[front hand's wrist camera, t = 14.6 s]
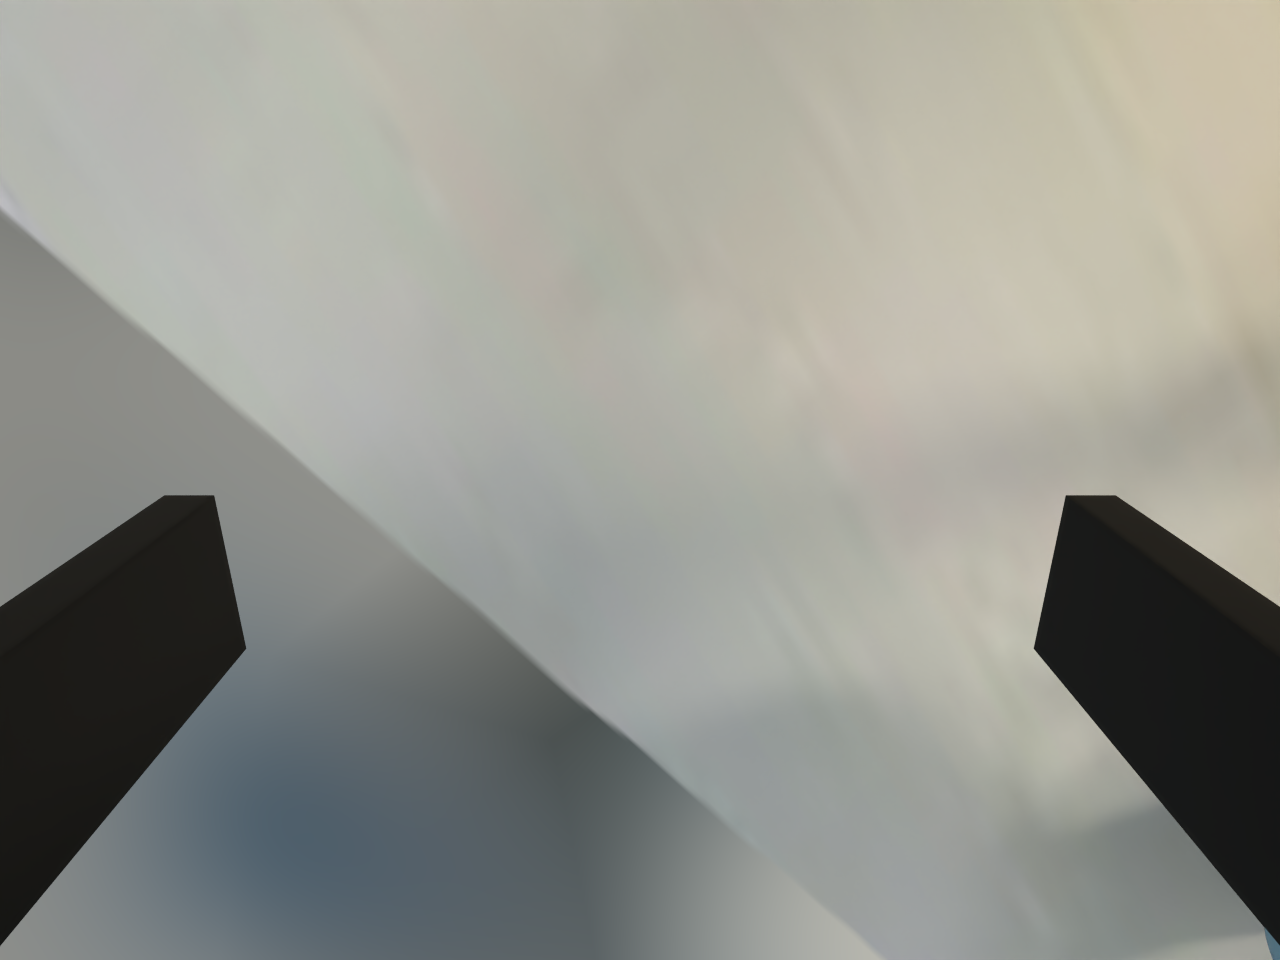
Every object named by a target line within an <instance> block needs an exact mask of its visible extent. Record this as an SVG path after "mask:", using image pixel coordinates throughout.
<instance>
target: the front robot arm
mask: <svg viewBox="0 0 1280 960" xmlns="http://www.w3.org/2000/svg"><path fill="white" fill-rule="evenodd" d="M245 649H246V646H245V641H244V636H243V631H242V626H241V622H240V617H239V612H238V607H237V602H236V598H235V593H234V588H233V583H232V579H231V574H230V569H229V564H228V560H227V555H226V550H225V545H224V541H223V536H222V531H221V526H220V521H219V517H218V512H217V507H216V502H215V497H214V496H213V495H211V496H210V495H209V496H207V495H205V496H204V495H202V496H199V495H197V496H194V495H192V496H191V495H190V496H187V495H186V496H183V495H182V496H181V495H173V496H172V495H171V496H170V495H168V496H167V495H165V496H163V497H161V498H160V499H158V500H157V501H156V502H154V503H153V504H151V505H150V506H148V507H147V508H145V509H144V510H142V511H141V512H139V513H138V514H136V515H135V516H133V517H132V518H130V519H129V520H128V521H126V522H125V523H123V524H122V525H120V526H119V527H117V528H116V529H114V530H113V531H111V532H110V533H108V534H107V535H105V536H104V537H102V538H101V539H100V540H98V541H97V542H95V543H94V544H92V545H91V546H89V547H88V548H86V549H85V550H83V551H82V552H80V553H79V554H77V555H76V556H75V557H73V558H72V559H70V560H69V561H67V562H66V563H64V564H63V565H61V566H60V567H58V568H57V569H55V570H54V571H52V572H51V573H49V574H48V575H46V576H45V577H44V578H42V579H41V580H39V581H38V582H36V583H35V584H33V585H32V586H30V587H29V588H27V589H26V590H24V591H23V592H21V593H20V594H19V595H17V596H15V597H14V598H13V599H11V600H10V601H8V602H7V603H5V604H4V605H2V606H1V607H0V945H1V944H2V943H3V942H4V941H5V939H6V938H7V937H8V936H9V934H10V933H11V932H12V931H13V930H14V928H15V927H16V926H17V925H18V924H19V922H20V921H21V920H22V919H23V918H24V916H25V915H26V914H27V913H28V912H29V910H30V909H31V908H32V907H33V905H34V904H35V903H36V902H37V901H38V900H39V898H40V897H41V896H42V895H43V893H44V892H45V891H46V890H47V889H48V887H49V886H50V885H51V884H52V883H53V881H54V880H55V879H56V878H57V876H58V875H59V874H60V873H61V872H62V871H63V869H64V868H65V867H66V866H67V864H68V863H69V862H70V861H71V860H72V858H73V857H74V856H75V855H76V854H77V852H78V851H79V850H80V849H81V848H82V846H83V845H84V844H85V843H86V842H87V840H88V839H89V838H90V837H91V835H92V834H93V833H94V832H95V831H96V829H97V828H98V827H99V826H100V825H101V823H102V822H103V821H104V820H105V819H106V817H107V816H108V815H109V814H110V813H111V811H112V810H113V809H114V808H115V806H116V805H117V804H118V803H119V802H120V800H121V799H122V798H123V797H124V796H125V794H126V793H127V792H128V791H129V790H130V788H131V787H132V786H133V785H134V783H135V782H136V781H137V780H138V779H139V777H140V776H141V775H142V774H143V773H144V771H145V770H146V769H147V768H148V767H149V765H150V764H151V763H152V762H153V760H154V759H155V758H156V757H157V756H158V755H159V753H160V752H161V751H162V750H163V748H164V747H165V746H166V745H167V744H168V742H169V741H170V740H171V739H172V738H173V736H174V735H175V734H176V733H177V732H178V730H179V729H180V728H181V727H182V726H183V724H184V723H185V722H186V721H187V719H188V718H189V717H190V716H191V715H192V713H193V712H194V711H195V710H196V709H197V707H198V706H199V705H200V704H201V703H202V701H203V700H204V699H205V698H206V696H207V695H208V694H209V693H210V692H211V691H212V689H213V688H214V687H215V686H216V684H217V683H218V682H219V681H220V680H221V678H222V677H223V676H224V675H225V674H226V672H227V671H228V670H229V669H230V667H231V666H232V665H233V664H234V663H235V662H236V660H237V659H238V658H239V657H240V655H241V654H242V653H243V652H244V651H245ZM1034 649H1035V651H1036V652H1037V653H1038V654H1039V655H1040V657H1041V658H1042V659H1043V660H1044V662H1045V663H1046V664H1047V665H1048V666H1049V668H1050V669H1051V670H1052V671H1053V672H1054V674H1055V675H1056V676H1057V677H1058V678H1059V680H1060V681H1061V682H1062V683H1063V684H1064V686H1065V687H1066V688H1067V689H1068V691H1069V692H1070V693H1071V694H1072V695H1073V697H1074V698H1075V699H1076V700H1077V701H1078V703H1079V704H1080V705H1081V706H1082V707H1083V709H1084V710H1085V711H1086V712H1087V713H1088V715H1089V716H1090V717H1091V718H1092V720H1093V721H1094V722H1095V723H1096V724H1097V726H1098V727H1099V728H1100V729H1101V730H1102V732H1103V733H1104V734H1105V735H1106V736H1107V738H1108V739H1109V740H1110V741H1111V742H1112V744H1113V745H1114V746H1115V747H1116V748H1117V750H1118V751H1119V752H1120V753H1121V755H1122V756H1123V757H1124V758H1125V759H1126V761H1127V762H1128V763H1129V764H1130V765H1131V767H1132V768H1133V769H1134V770H1135V771H1136V773H1137V774H1138V775H1139V776H1140V777H1141V779H1142V780H1143V781H1144V782H1145V784H1146V785H1147V786H1148V787H1149V788H1150V790H1151V791H1152V792H1153V793H1154V794H1155V796H1156V797H1157V798H1158V799H1159V800H1160V802H1161V803H1162V804H1163V805H1164V806H1165V808H1166V809H1167V810H1168V811H1169V813H1170V814H1171V815H1172V816H1173V817H1174V819H1175V820H1176V821H1177V822H1178V823H1179V825H1180V826H1181V827H1182V828H1183V829H1184V831H1185V832H1186V833H1187V834H1188V835H1189V837H1190V838H1191V839H1192V840H1193V842H1194V843H1195V844H1196V845H1197V846H1198V848H1199V849H1200V850H1201V851H1202V852H1203V854H1204V855H1205V856H1206V857H1207V858H1208V860H1209V861H1210V862H1211V863H1212V864H1213V866H1214V867H1215V868H1216V869H1217V871H1218V872H1219V873H1220V874H1221V875H1222V877H1223V878H1224V879H1225V880H1226V881H1227V883H1228V884H1229V885H1230V886H1231V887H1232V889H1233V890H1234V891H1235V892H1236V893H1237V895H1238V896H1239V897H1240V898H1241V900H1242V901H1243V902H1244V903H1245V904H1246V906H1247V907H1248V908H1249V909H1250V910H1251V912H1252V913H1253V914H1254V915H1255V916H1256V918H1257V919H1258V920H1259V921H1260V922H1261V924H1262V925H1263V926H1264V927H1265V928H1266V930H1267V931H1268V932H1269V933H1270V935H1271V936H1272V937H1273V938H1274V939H1275V941H1276V942H1277V943H1278V944H1279V945H1280V607H1279V606H1278V605H1276V604H1275V603H1273V602H1272V601H1270V600H1269V599H1267V598H1266V597H1265V596H1263V595H1262V594H1260V593H1259V592H1257V591H1256V590H1254V589H1253V588H1251V587H1250V586H1248V585H1247V584H1245V583H1244V582H1242V581H1241V580H1239V579H1238V578H1236V577H1235V576H1234V575H1232V574H1231V573H1229V572H1228V571H1226V570H1225V569H1223V568H1222V567H1220V566H1219V565H1217V564H1216V563H1214V562H1213V561H1211V560H1210V559H1208V558H1207V557H1206V556H1204V555H1203V554H1201V553H1200V552H1198V551H1197V550H1195V549H1194V548H1192V547H1191V546H1189V545H1188V544H1186V543H1185V542H1183V541H1182V540H1180V539H1179V538H1178V537H1176V536H1175V535H1173V534H1172V533H1170V532H1169V531H1167V530H1166V529H1164V528H1163V527H1161V526H1160V525H1158V524H1157V523H1155V522H1154V521H1152V520H1151V519H1150V518H1148V517H1147V516H1145V515H1144V514H1142V513H1141V512H1139V511H1138V510H1136V509H1135V508H1133V507H1132V506H1130V505H1129V504H1127V503H1126V502H1124V501H1123V500H1122V499H1120V498H1119V497H1117V496H1116V495H1066V497H1065V502H1064V507H1063V512H1062V517H1061V521H1060V526H1059V531H1058V536H1057V540H1056V545H1055V550H1054V555H1053V559H1052V564H1051V569H1050V574H1049V579H1048V583H1047V588H1046V593H1045V598H1044V602H1043V607H1042V612H1041V617H1040V622H1039V626H1038V631H1037V636H1036V641H1035V645H1034Z"/></svg>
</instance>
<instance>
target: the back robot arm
mask: <svg viewBox="0 0 1280 960" xmlns="http://www.w3.org/2000/svg"><path fill="white" fill-rule="evenodd" d="M1264 928H1265V927H1264ZM1265 934H1266V940H1267V943H1268V947H1269V950H1270V953H1271V955H1272V958H1273V960H1280V945H1279V944H1278V943H1277V942H1276V941H1275V939H1274V938H1273V937H1272V936H1271V935H1270V933H1269V932H1268V931H1267V930H1266V928H1265Z"/></svg>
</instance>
